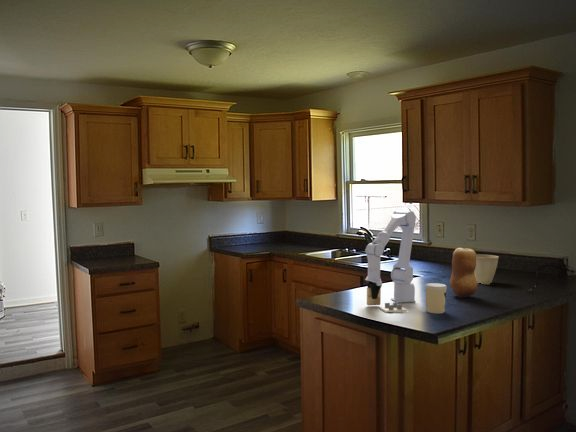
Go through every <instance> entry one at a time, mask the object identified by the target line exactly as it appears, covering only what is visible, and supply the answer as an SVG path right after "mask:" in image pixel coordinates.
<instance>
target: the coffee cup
mask: <svg viewBox="0 0 576 432" xmlns="http://www.w3.org/2000/svg"><path fill="white" fill-rule="evenodd" d="M424 288H425V303H426V304H425V307H426V308H425V309H426V312H427V313H430V314H444V313H445V311H446V309H445V308H446V301H447V300H446V299H447V290H448V289H447V288H448V286H447V285H446V284H444V283H440V282H439V283H438V282H437V283H436V282H431V283H430V282H429V283H426V284H425V286H424Z"/></svg>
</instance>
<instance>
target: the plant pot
mask: <svg viewBox="0 0 576 432" xmlns="http://www.w3.org/2000/svg"><path fill="white" fill-rule="evenodd" d="M499 257H500V256H498V255H493V254H476V268H475V272H474V274H475V277H476V280H477V284H479V283H481V284H480V285H491V284H492V282H493V281H494V276H495V274H496V270H497V268H498V263H499V259H500V258H499ZM490 283H491V284H490Z"/></svg>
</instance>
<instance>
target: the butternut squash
mask: <svg viewBox="0 0 576 432" xmlns="http://www.w3.org/2000/svg"><path fill="white" fill-rule="evenodd" d="M476 255H477V253H476V251H475V250H474V249H472V248H465V247H464V248H463V247H457V248H456V249H455V250H454V251H453V252H452V260H451V275H450V279H449V286H450V288H451V290H452V291H453V293H454V295H455V296H456V297H457V298H459V299H464V298H469V297H470V296H472V295H474V294H475V293H476V292H477V290H478V283H477V280H476V277H475V274H474V272H475V268H476Z"/></svg>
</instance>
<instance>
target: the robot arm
mask: <svg viewBox="0 0 576 432" xmlns="http://www.w3.org/2000/svg"><path fill="white" fill-rule="evenodd" d="M416 218H417V216H416V214H415V212H414V211H412V210H398V209H396V210H394V211H393V212H392V214H391V220H390V221H389V223H388V224H387V226H386V227H385V229H384V230H383V231H380V232H378V234H377V235H376V236H375V238H374V239H373V241H372V242H370V243H368V244H367V245H366V247H365V249H364V253H365V254H366V259H367V276H366V278H364V280H365V281H367V282H365V285H366V286H367V287H366V288H371V293H372V299H377V297H378V293H379V290H380V288H381V289H382V286H383V281H382V279H381V257H382V255H383V254H384V250H385V247H386V246H387V244H388V242H389V241H390V240H391V236H392V234H393V232H394V231H395V230H396V229H397V228H398V227H399V228H400V229H401V230H402V233H401V239H400V246H399V252H398V258H397V262H396V263H395V264H393V266H392V270H391V272H390V277H391V280H392V283H393V285H394V286H393V290H394V291H393V297H391V298H390V300H392V301H393V302H394V303H396V302H398V303H414V302H416V300H415V299H416V298H415V295H416V289H415V288H416V287H415V284H414V282H412V281H413V279H414V268H413V267H412V265H411V264H410V260H411V252H412V245H413V239H414V235H415V227H416V221H417V219H416Z"/></svg>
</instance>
